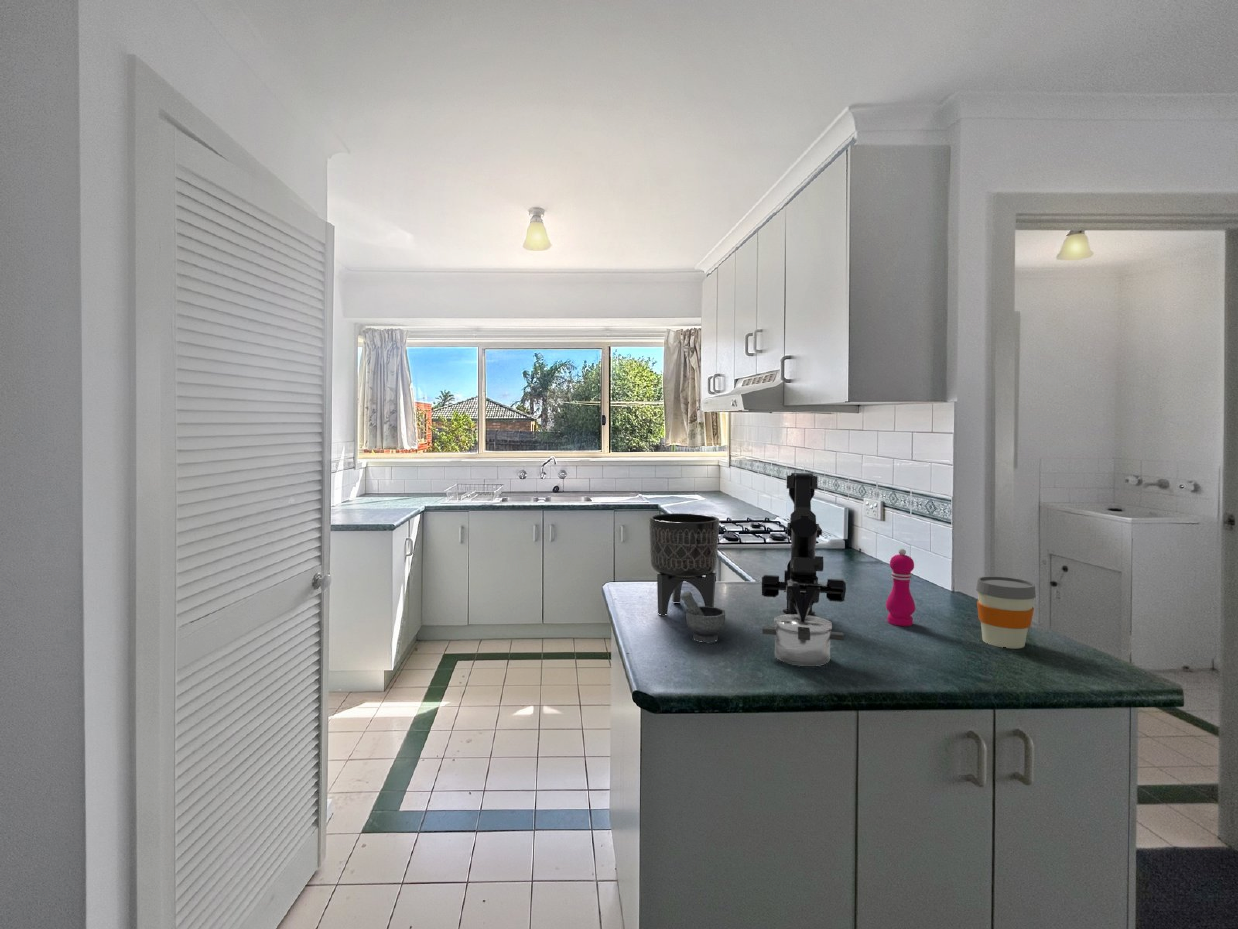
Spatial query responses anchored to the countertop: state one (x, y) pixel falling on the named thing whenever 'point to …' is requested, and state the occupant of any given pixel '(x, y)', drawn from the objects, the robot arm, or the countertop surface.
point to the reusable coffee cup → (1005, 610)
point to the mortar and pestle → (703, 619)
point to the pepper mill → (901, 591)
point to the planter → (683, 555)
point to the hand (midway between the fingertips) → (802, 620)
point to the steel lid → (803, 625)
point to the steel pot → (802, 646)
